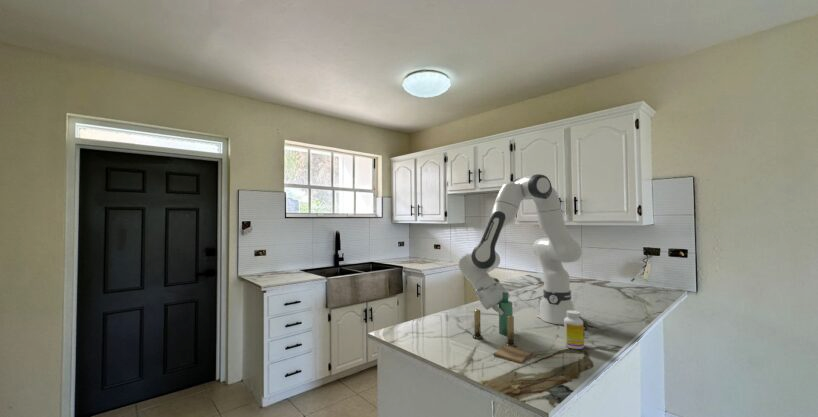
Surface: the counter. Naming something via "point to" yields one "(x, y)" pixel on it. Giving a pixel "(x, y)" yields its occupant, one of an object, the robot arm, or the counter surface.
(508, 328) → the post
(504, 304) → the bottle
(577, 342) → the supplement bottle
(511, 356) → the plate
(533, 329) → the counter surface
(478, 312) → the post
